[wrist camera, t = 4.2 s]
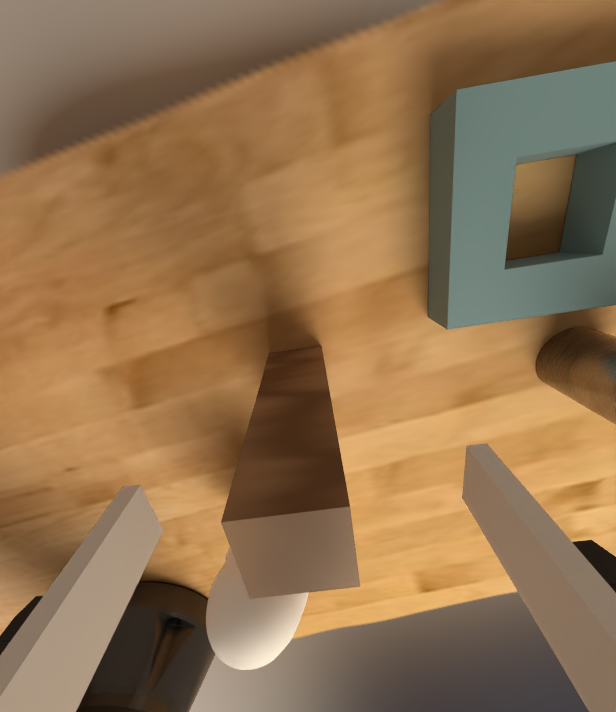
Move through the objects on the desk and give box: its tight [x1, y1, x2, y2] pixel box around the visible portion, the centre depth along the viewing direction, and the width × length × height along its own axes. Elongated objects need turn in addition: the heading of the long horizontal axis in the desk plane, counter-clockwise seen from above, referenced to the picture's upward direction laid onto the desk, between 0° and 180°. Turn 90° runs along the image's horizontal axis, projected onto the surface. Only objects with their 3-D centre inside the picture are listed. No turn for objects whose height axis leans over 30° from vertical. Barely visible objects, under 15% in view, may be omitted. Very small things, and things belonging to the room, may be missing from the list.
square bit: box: [221, 346, 360, 599], centre depth 16 cm, size 4×4×14 cm
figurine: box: [206, 547, 309, 670], centre depth 22 cm, size 7×8×12 cm
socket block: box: [428, 61, 616, 329], centre depth 17 cm, size 12×12×3 cm
